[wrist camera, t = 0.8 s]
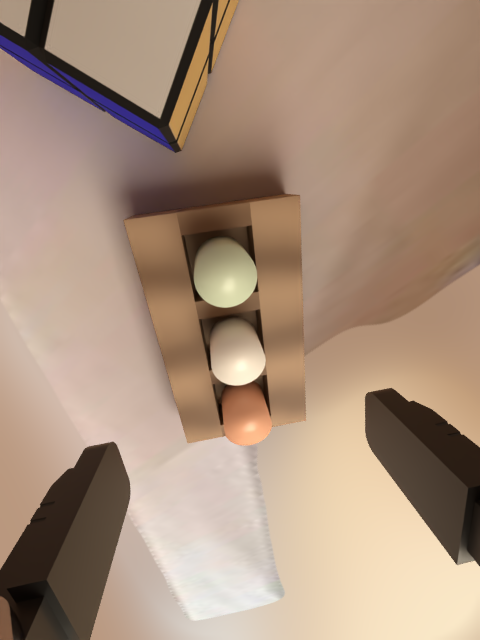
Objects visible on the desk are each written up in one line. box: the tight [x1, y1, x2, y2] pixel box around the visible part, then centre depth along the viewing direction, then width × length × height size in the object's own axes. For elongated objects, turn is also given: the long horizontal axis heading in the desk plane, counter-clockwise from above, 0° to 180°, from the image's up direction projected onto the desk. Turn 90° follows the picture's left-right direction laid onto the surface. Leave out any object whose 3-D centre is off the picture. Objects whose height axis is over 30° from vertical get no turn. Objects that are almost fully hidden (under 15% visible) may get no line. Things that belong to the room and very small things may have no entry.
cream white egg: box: [209, 316, 266, 386], centre depth 22 cm, size 4×4×4 cm
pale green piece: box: [194, 236, 257, 308], centre depth 20 cm, size 4×4×4 cm
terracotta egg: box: [221, 381, 272, 445], centre depth 25 cm, size 4×4×4 cm
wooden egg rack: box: [124, 194, 306, 443], centre depth 25 cm, size 21×12×4 cm, turn 7°
